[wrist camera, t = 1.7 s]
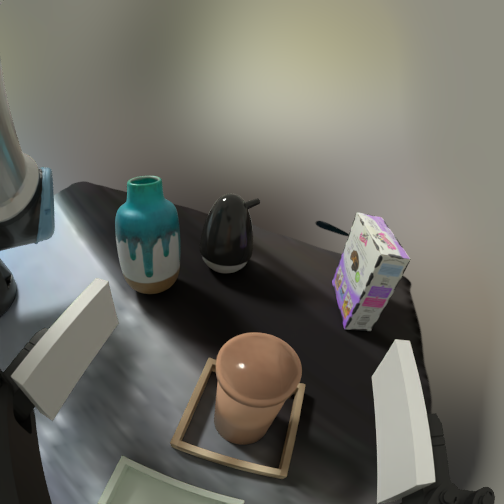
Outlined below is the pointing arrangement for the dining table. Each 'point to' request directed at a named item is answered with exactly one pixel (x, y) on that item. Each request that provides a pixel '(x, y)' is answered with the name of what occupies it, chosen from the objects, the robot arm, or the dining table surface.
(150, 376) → the dining table surface
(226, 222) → the pump dispenser
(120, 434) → the dining table surface
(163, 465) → the dining table surface
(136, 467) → the green tray
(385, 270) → the candy box
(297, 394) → the oak corral
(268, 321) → the dining table surface
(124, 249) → the vase
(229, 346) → the canister
